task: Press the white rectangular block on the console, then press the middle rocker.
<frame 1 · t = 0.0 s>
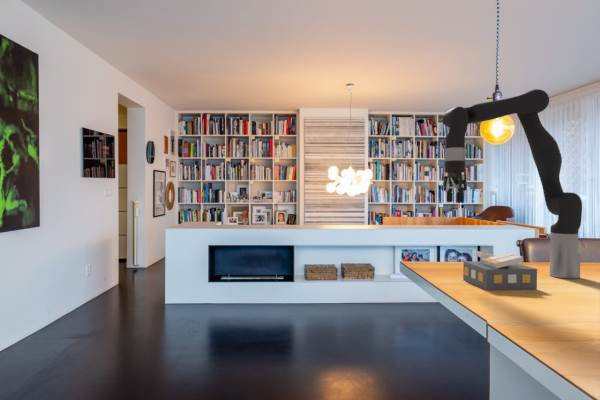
hand: (454, 202, 155), 29 cm above the table, tool pointing down, fingers open, 8 cm apart
white rectangular block 1: (491, 256, 149), point 9 cm above the table, hinge at -13.0°
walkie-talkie: (480, 275, 163), on the table
rocker 3: (506, 261, 139), point 9 cm above the table, hinge at 13.0°
rocker 2: (498, 259, 144), point 9 cm above the table, hinge at 13.0°
console: (498, 284, 144), on the table
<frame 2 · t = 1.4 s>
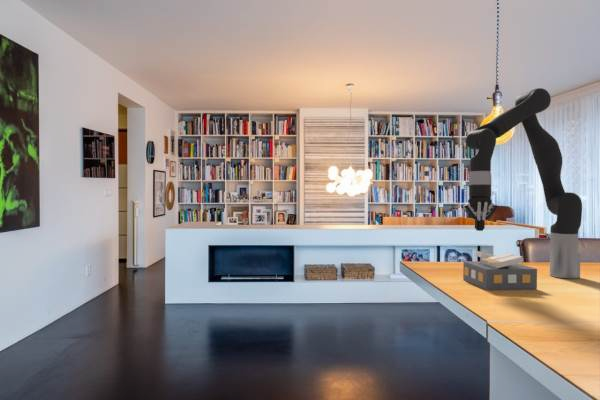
hand: (479, 230, 149), 19 cm above the table, tool pointing down, fingers closed
nothing on the table moved.
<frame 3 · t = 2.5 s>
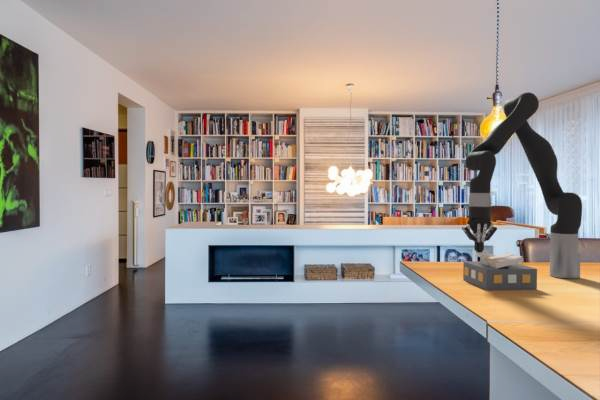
hand: (478, 252, 149), 11 cm above the table, tool pointing down, fingers closed
white rectangular block 1: (491, 256, 149), point 9 cm above the table, hinge at -12.8°, touching gripper
everything else where it was.
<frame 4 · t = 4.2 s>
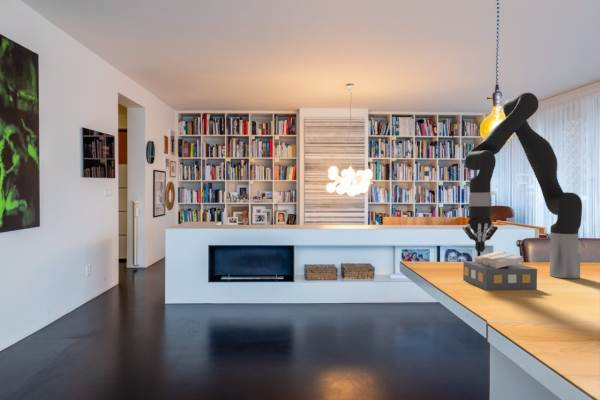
hand: (479, 251, 149), 11 cm above the table, tool pointing down, fingers closed
white rectangular block 1: (490, 256, 149), point 9 cm above the table, hinge at 14.0°, touching console
everything else where it was.
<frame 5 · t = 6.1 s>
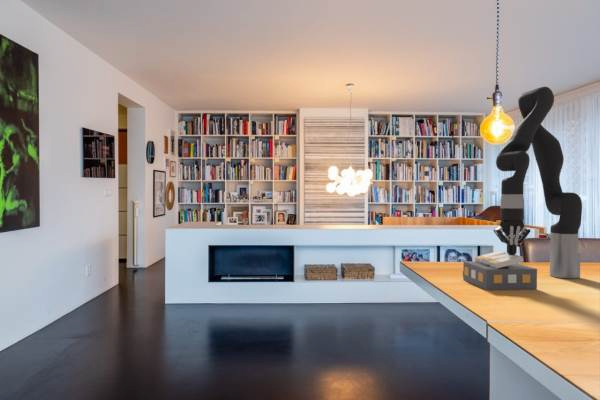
hand: (511, 255, 145), 11 cm above the table, tool pointing down, fingers closed
white rectangular block 1: (490, 256, 149), point 9 cm above the table, hinge at 13.8°
rocker 2: (498, 259, 144), point 9 cm above the table, hinge at 8.8°, touching gripper
everything else where it was.
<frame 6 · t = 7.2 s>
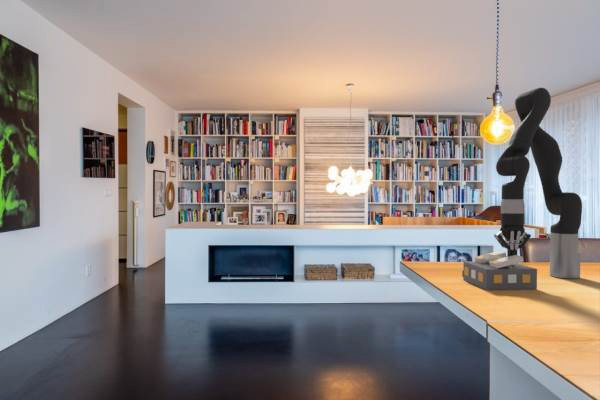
hand: (512, 259, 145), 9 cm above the table, tool pointing down, fingers closed
rocker 2: (499, 259, 144), point 9 cm above the table, hinge at -13.6°, touching gripper
everything else where it was.
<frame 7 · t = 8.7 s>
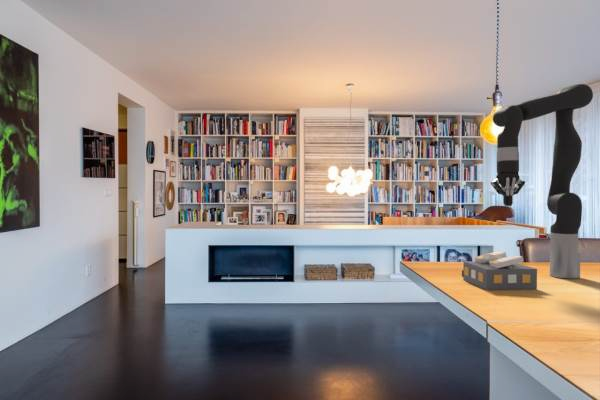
hand: (507, 205, 152), 28 cm above the table, tool pointing down, fingers closed
rocker 2: (499, 259, 144), point 9 cm above the table, hinge at -13.8°
everything else where it was.
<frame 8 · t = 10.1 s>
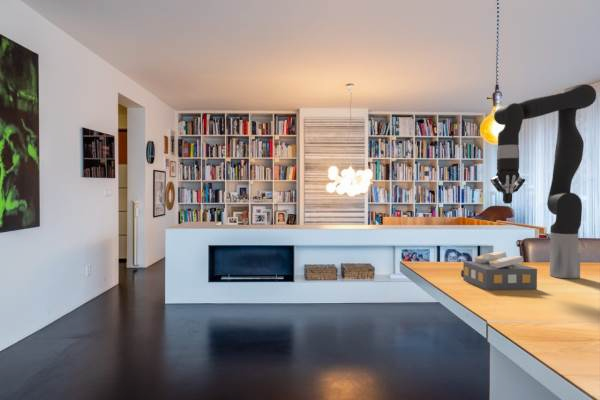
hand: (507, 203, 153), 29 cm above the table, tool pointing down, fingers closed
at the end: white rectangular block 1 at +14° (first picture: -13°); rocker 2 at -14° (first picture: +13°); rocker 3 at +13° (first picture: +13°) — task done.
